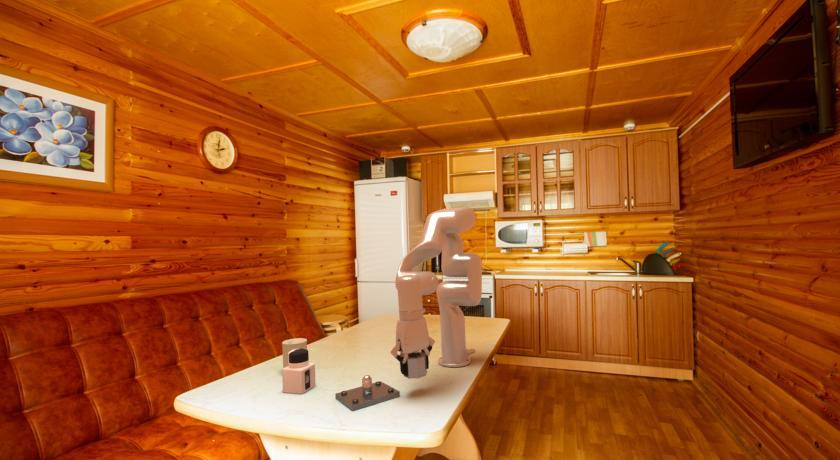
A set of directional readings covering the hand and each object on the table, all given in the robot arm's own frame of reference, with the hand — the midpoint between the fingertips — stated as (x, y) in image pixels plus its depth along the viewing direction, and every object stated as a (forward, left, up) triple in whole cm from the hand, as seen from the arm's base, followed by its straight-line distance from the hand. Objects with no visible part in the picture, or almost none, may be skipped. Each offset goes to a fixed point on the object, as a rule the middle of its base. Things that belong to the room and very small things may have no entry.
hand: (415, 370), depth 121 cm
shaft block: (+13, -7, -7) cm, 17 cm away
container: (+27, -29, -7) cm, 41 cm away
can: (+22, -49, -7) cm, 55 cm away
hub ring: (0, 0, -1) cm, 1 cm away
